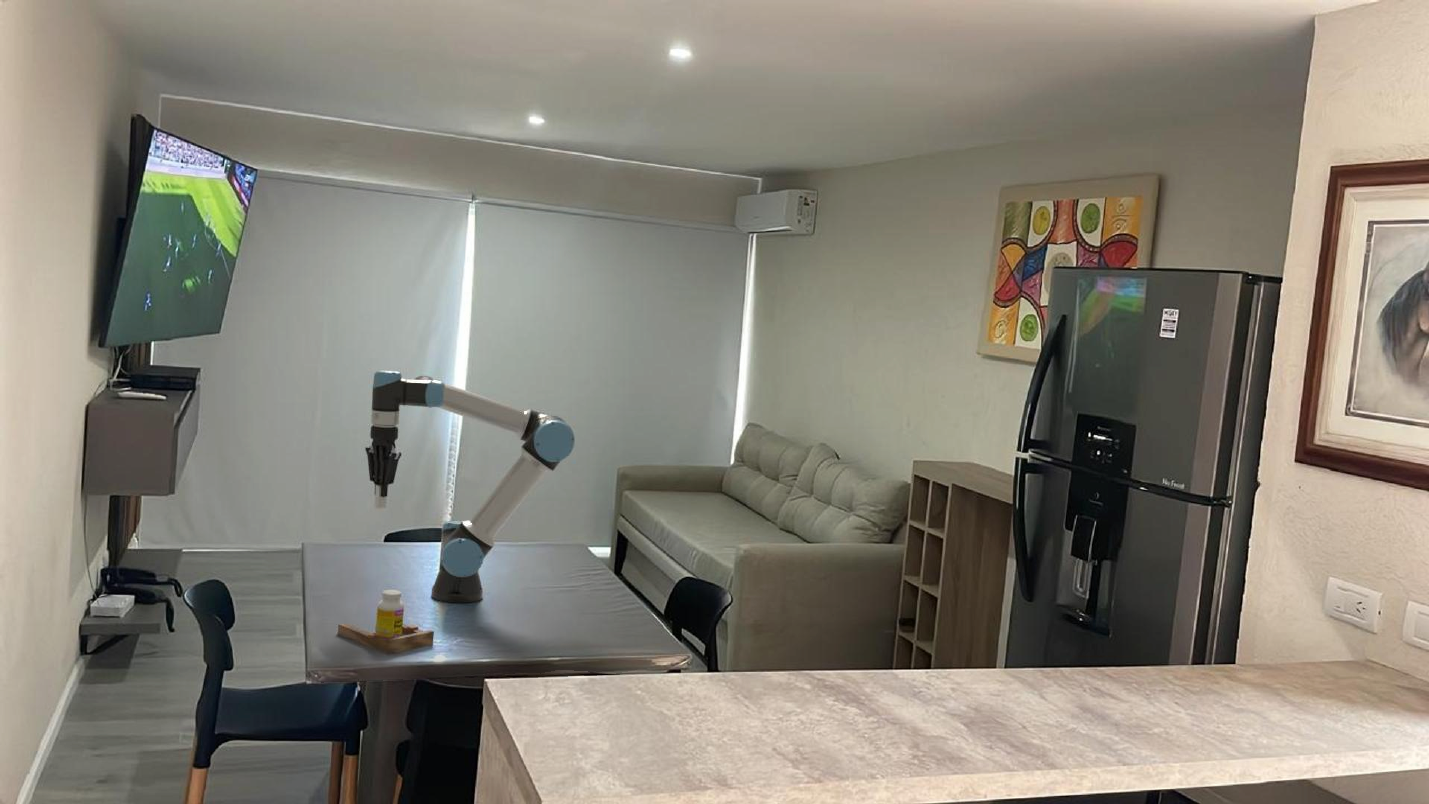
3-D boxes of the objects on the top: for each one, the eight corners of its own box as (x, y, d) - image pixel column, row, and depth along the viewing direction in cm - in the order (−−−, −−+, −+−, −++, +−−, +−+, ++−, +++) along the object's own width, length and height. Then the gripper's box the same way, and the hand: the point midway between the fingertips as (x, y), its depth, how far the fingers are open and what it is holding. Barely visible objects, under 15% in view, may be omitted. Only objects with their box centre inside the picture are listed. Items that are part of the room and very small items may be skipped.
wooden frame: (382, 624, 310) (383, 612, 310) (433, 644, 297) (434, 631, 297) (337, 633, 298) (338, 620, 298) (387, 654, 286) (388, 641, 285)
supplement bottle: (394, 645, 293) (397, 597, 292) (370, 641, 294) (373, 593, 293) (405, 638, 300) (409, 590, 299) (382, 634, 301) (386, 587, 300)
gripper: (358, 423, 322) (354, 505, 324) (389, 428, 314) (384, 512, 316) (380, 421, 328) (376, 502, 330) (410, 427, 320) (405, 510, 323)
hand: (380, 507), depth 323 cm, fingers closed
